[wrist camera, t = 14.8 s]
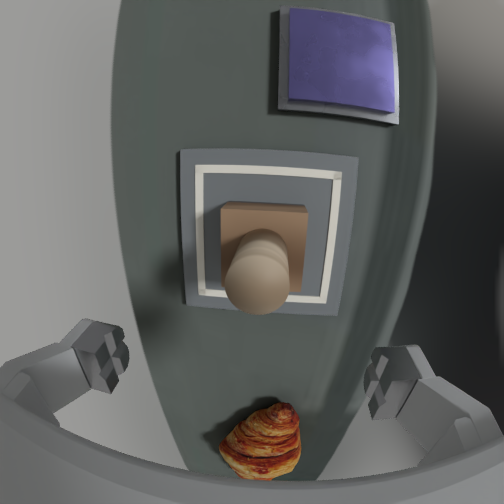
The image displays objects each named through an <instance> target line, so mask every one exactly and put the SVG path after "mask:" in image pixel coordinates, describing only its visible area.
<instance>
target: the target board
mask: <svg viewBox="0 0 504 504" xmlns="http://www.w3.org/2000/svg"><path fill="white" fill-rule="evenodd" d="M358 159H359V157H351V156H343V155H334V154H324V153H313V152H300V151H286V150H266V149H180V189H181V227H182V249H183V266H184V281H185V294H186V305H189V306H198V307H208V308H219V309H230V310H239V309H238V308H237V307H235V306H234V305H233V304H232V303H231V301H230V300H229V299H228V297H227V294H226V292H225V287H221V208H222V207H223V206H224V205H225V204H226V203H227V202H228V201H247V202H269V203H287V204H302V205H305V207H306V209H307V211H308V224H307V236H306V247H305V257H304V267H303V277H302V286H301V292H289V294H288V297H287V299H286V301H285V302H284V303H283V305H282V306H281V307H279V308H278V309H277V310H275V311H273V312H271V313H287V314H307V315H334V316H337V314H338V309H339V304H340V299H341V294H342V288H343V283H344V277H345V271H346V265H347V259H348V252H349V245H350V238H351V231H352V223H353V214H354V205H355V196H356V185H357V173H358Z"/></svg>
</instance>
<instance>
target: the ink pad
mask: <svg viewBox="0 0 504 504" xmlns="http://www.w3.org/2000/svg"><path fill="white" fill-rule="evenodd" d="M278 111H292V112H306V113H317V114H326V115H335V116H343V117H350V118H357V119H363V120H369V121H375V122H381V123H386V124H391V125H399V80H398V61H397V47H396V37H395V28H394V23H391V22H388V21H384V20H380V19H376V18H372V17H367V16H362V15H358V14H352V13H347V12H341V11H335V10H328V9H320V8H311V7H299V6H283V5H280V47H279V91H278Z"/></svg>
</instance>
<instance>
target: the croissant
mask: <svg viewBox="0 0 504 504" xmlns="http://www.w3.org/2000/svg"><path fill="white" fill-rule="evenodd" d="M298 425H299V416H298V414H297V413H296V411H295V410H294V408H293V407H292V406H291V405H290V404H289V403H284V402H283V403H277V404H274V405H272V406H271V407H269V408H268V409H261V410H258V411H255V412H254V413H253V414H251V415H250V416H249V417H248V418H247V419H246V420H244V421H241V422H240V423H238V424H237V425H236V426H235V428H234V429H233V431H232V432H231V433H229V434H228V435H227V437H225V438H224V439H223V440H222V442H221V443H220V445H219V451H220V453H221V455H222V456H223V458H224V460H225V461H226V462H227V463H228V464H229V465H230V467H231V468H232V469H233V470H234V471H235V473H236V474H237V475H238V476H239V477H241V478H242V479H253V480H269V481H270V480H271V479H273V478H275V477H277V476H280V475H283V474H285V473H289V472H291V471H292V470H293V469H294V467H295V465H296V464H297V462H298V460H299V458H300V454H301V441H300V431H299V427H298Z"/></svg>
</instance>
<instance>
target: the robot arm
mask: <svg viewBox="0 0 504 504" xmlns="http://www.w3.org/2000/svg"><path fill="white" fill-rule="evenodd" d="M124 337H125V336H124V332H123V329H122V328H120V327H119V326H116V325H111V324H106V323H102V322H99V321H93V320H90V319H82V320H81V321H80V322H79V323H78V324H77V325H76V326H75V327H74V328H73V329H72V330H71V331H70V332H69V333H68V334H67V335H66V337H65V338H64V339H63V340H62V341H61V342H60V343H54V344H51V345H48V346H46V347H43V348H41V349H38V350H36V351H33V352H30V353H28V354H25V355H23V356H20V357H18V358H15V359H12V360H10V361H7V362H5V363H4V364H3V366H2V367H1V368H0V504H504V435H502V433H501V431H500V429H499V427H498V425H497V423H496V421H495V419H494V417H493V415H492V413H491V411H490V409H489V408H488V407H486V406H485V405H483V404H481V403H480V402H478V401H477V400H475V399H474V398H472V397H471V396H469V395H467V394H466V393H464V392H463V391H461V390H460V389H458V388H456V387H455V386H453V385H452V384H450V383H449V382H447V381H446V380H444V379H443V378H441V377H436V376H435V374H434V372H433V371H432V369H431V367H430V365H429V363H428V361H427V360H426V358H425V356H424V354H423V353H422V351H421V349H420V347H419V346H417V345H406V346H397V347H375V349H374V350H373V352H372V355H371V360H372V362H373V363H371V364H370V365H369V366H368V367H367V369H366V372H365V374H364V390H365V394H366V395H367V396H368V397H369V398H371V400H370V402H369V404H368V406H369V410H370V413H371V417H372V420H379V419H390V418H396V420H397V421H398V422H399V423H400V424H401V425H402V426H403V427H404V428H405V429H406V430H407V431H408V432H409V433H410V434H411V435H412V436H413V437H414V438H415V439H416V440H417V441H418V442H419V443H420V444H421V445H422V446H423V447H424V448H425V449H426V451H427V452H428V454H427V455H426V456H425V457H424V458H423V459H422V460H421V461H420V462H419V464H418V465H417V467H413V468H408V469H404V470H399V471H394V472H389V473H384V474H378V475H371V476H364V477H356V478H347V479H336V480H322V481H269V480H253V479H242V478H232V477H224V476H217V475H210V474H204V473H199V472H193V471H188V470H183V469H179V468H174V467H170V466H165V465H162V464H158V463H154V462H150V461H147V460H143V459H140V458H137V457H133V456H130V455H127V454H124V453H121V452H118V451H116V450H113V449H110V448H107V447H105V446H102V445H100V444H97V443H94V442H92V441H90V440H87V439H85V438H82V437H80V436H78V435H76V434H73V433H71V432H69V431H67V430H65V429H63V428H61V427H60V424H59V422H58V420H57V419H56V418H55V416H54V415H53V413H55V412H56V411H58V410H59V409H61V408H63V407H64V406H66V405H67V404H69V403H70V402H72V401H74V400H75V399H77V398H78V397H80V396H81V395H83V394H84V393H86V392H87V391H89V390H90V389H91V388H92V389H95V390H99V391H102V392H105V393H109V394H111V393H112V392H113V390H114V388H115V387H116V385H117V383H118V382H119V379H118V375H120V374H122V373H124V372H125V370H126V368H127V367H128V362H129V350H128V347H127V346H126V345H125V343H124V342H123V341H122V340H123V339H124Z"/></svg>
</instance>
